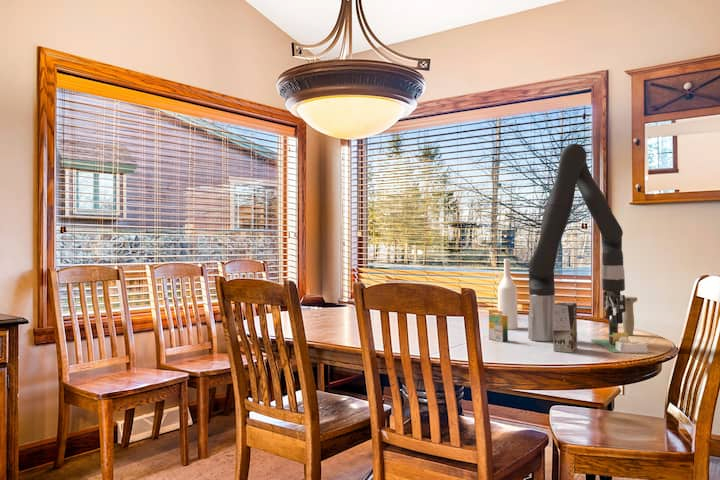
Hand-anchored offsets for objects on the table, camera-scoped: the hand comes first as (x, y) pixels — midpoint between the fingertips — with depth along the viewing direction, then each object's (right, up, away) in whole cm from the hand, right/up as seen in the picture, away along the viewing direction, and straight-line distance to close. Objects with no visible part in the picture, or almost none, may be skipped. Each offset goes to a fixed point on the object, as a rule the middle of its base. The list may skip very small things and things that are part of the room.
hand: (614, 321), depth 199 cm
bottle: (-30, -8, +35) cm, 47 cm away
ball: (-1, -6, -9) cm, 11 cm away
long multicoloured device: (-1, -7, -2) cm, 8 cm away
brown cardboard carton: (-1, -8, -4) cm, 9 cm away
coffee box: (-22, -8, -11) cm, 26 cm away
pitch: (-2, -8, -6) cm, 10 cm away
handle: (+13, -8, +16) cm, 22 cm away
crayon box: (-41, -9, +8) cm, 42 cm away
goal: (-1, -8, -15) cm, 17 cm away
